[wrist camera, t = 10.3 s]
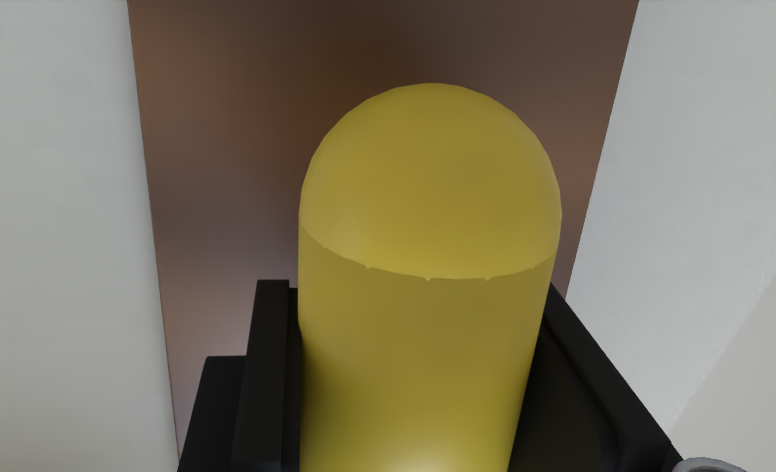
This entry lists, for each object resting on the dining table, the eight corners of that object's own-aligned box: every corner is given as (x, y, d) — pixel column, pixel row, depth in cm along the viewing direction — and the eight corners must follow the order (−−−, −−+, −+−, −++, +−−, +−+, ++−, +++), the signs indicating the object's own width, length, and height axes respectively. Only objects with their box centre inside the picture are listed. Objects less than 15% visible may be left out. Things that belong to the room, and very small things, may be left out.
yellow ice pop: (300, 55, 9) (298, 114, 5) (529, 68, 9) (650, 129, 6) (296, 545, 13) (292, 732, 10) (446, 535, 14) (489, 709, 11)
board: (114, -251, 10) (95, -272, 9) (657, -181, 11) (688, -192, 10) (191, 494, 18) (185, 523, 17) (505, 478, 19) (515, 504, 18)
